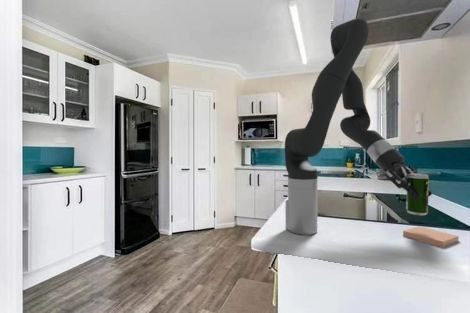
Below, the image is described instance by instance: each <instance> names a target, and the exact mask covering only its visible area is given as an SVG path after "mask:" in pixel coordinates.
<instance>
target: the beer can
mask: <svg viewBox="0 0 470 313" xmlns="http://www.w3.org/2000/svg"><path fill="white" fill-rule="evenodd" d="M408 177H409V181H410V183H411V184H412V185H413V186H414V187H415V188H416V189H417V190H418V191H419V193H420V194H421V195H422V196H421V197H420V198H418V199H414V198H413V197H412V196H411V195H410V194H409V193H408V192H407V191H406V202H405V203H406V204H405V206H406V207H405V209H406V212H407V213H408V214H410V215H415V216H427V214H428V212H429V197H428V194H429V190H430V188H429V184H430V177H429V174H426V173H419V174H417V173H409V174H408ZM412 185H411V186H412Z"/></svg>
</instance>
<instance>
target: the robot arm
mask: <svg viewBox="0 0 470 313" xmlns="http://www.w3.org/2000/svg"><path fill="white" fill-rule="evenodd" d="M369 32H370V30H369V23H368V21H367V20H366V19H364V18H362V17H358V18H354V19H351V20H348V21H346V22H344V23H341V24H338V25H336V26H334V27H333V29H332V30H331V32H330V46H331V50H332V55H333V58H332V59H331V60H330V61H329V62H328V63H327V64H326V65H325V66H324V67H323V69H322V70H321V71H320V73H319V74H318V76H317V78H316V80H315V83H314V85H313V88H312V90H311V103H312V112H311V116H310V117H309V119H308V122H307V124H306V125H305V127H303V128H302V127H301V128H294V129H291V130H290V131H289V132H288V133H287V134H286V136H285V140H284V162H285V163H284V165H285V170H286V171H287V200H285V230H287V231H289V232H291V233H293V234H296V235H304V236H306V235H307V236H308V235H315V234H317V232H318V174H319V173H318V170H317V169H316V167H315V166H312V164H310V161H309V158H313V157H315V156H317V155H319V154H320V152H321V151H322V149H323V147H324V144H325V141H326V138H327V135H328V131H329V127H330V124H331V120H332V118H333V115H334V113H335V110H336V108H337V105H338V102H339V100H340V98H342V105H343V109H344V110H346V111H347V110H349V111H350V110H351V111H352V112H353V115H349V116H346V117H344V118H342V119H341V121H340V124H339V126H340V130H341V132H342V133H343V134H344V135H345V136H346V137H347V138H349V139H350V140H352V141H353V142H355V143H357V144H359V145H360V146H361V147H362V148H363V150H364V151H365V153H367V154H368V156H369V157H370V159H371V160H372V161H373V162H374V163H375V164H376V166H377V167H378V168H380V170H381V171H382V172H383V173H384V177H386V178H387V179H388V180H389V181H390V182H392V183H393V185H394V186H395V187H397V188H398V189H399V190H401V189H402V190H403V191H406V193H407V192H408V193H409V194H410V195H411V196H412V197H413V198H414V199H418V198H420V197H421V196H422V195H421V194H420V193H419V191H418V190H417V189H416V188H415V187H414V186H413V185H412V184H411V183H410V181H409V177H408V174H409V173H417V174H420V173H419V172H418V171H417V169H416V168H415V167H411V168H409V167H408V166H407V165H405V164H404V163H405V161H406V158H405V156H403V155H402V154H401V153H400V152H399V151H398V150H397V149H396V148H395V147H394V146H393V145H392V144H391V143H390V142H388V140H386V139H385V138H384V137H383V136H382V135H381V134H380V133H379V132H377V131H376V130H374V129H369V128H370V126H371V117H370V114H369V111H368V109H367V107H366V104H365V101H364V100H365V98H364V88H363V83H362V80H361V78H360V77H359V75H358V74H357V72H356V71H355V69H354V65H355V64H356V61H357V59H358V57H359V56H360V54H361V52H362V50H363V49H364V47H365V45H366V43H367V41H368V36H369ZM411 185H412V186H411ZM432 195H433V192H432V191H431V190H430V189H429V194H428V198H429V197H430V196H432Z"/></svg>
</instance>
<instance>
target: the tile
mask: <svg viewBox="0 0 470 313" xmlns="http://www.w3.org/2000/svg"><path fill="white" fill-rule="evenodd" d="M402 234H403V235H402V236H403V237H406V238H409V239H413V240H415V241H421V242H424V243H427V244H431V245H434V246H438V247H440V248H445V247H448V246H449V245H452V244H455V243H458V242H459V239H460V238H459V235H456V234H451V233H447V232H443V231H440V230H435V229H431V228H428V227H422V226H416V227H412V228H408V229H405V230H403V232H402Z"/></svg>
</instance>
